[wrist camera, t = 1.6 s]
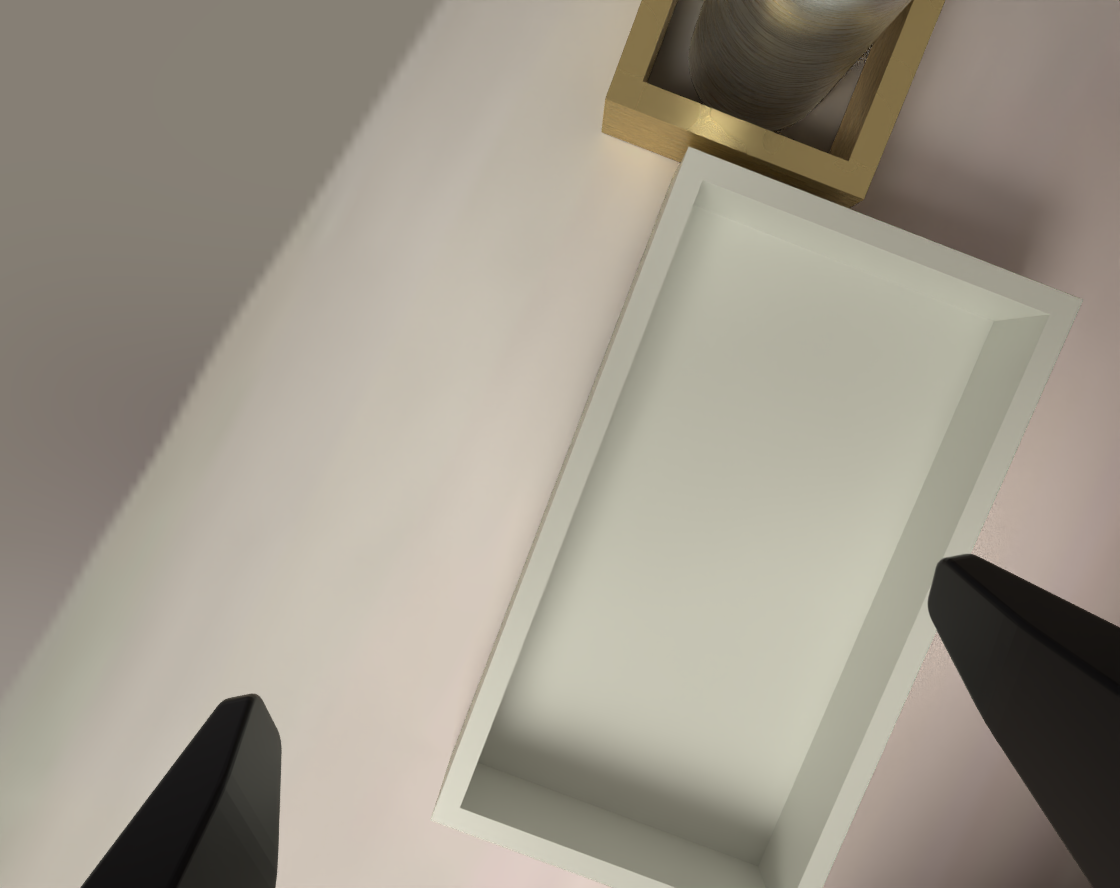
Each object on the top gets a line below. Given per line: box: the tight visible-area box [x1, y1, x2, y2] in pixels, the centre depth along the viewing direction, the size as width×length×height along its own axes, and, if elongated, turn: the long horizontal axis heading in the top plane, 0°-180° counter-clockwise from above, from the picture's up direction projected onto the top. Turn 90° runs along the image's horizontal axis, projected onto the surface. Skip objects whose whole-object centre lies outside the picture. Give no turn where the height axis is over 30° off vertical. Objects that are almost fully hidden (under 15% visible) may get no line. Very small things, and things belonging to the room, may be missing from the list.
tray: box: [431, 147, 1083, 888], centre depth 20 cm, size 10×18×3 cm, turn 159°
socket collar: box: [602, 0, 945, 209], centre depth 19 cm, size 7×7×2 cm
